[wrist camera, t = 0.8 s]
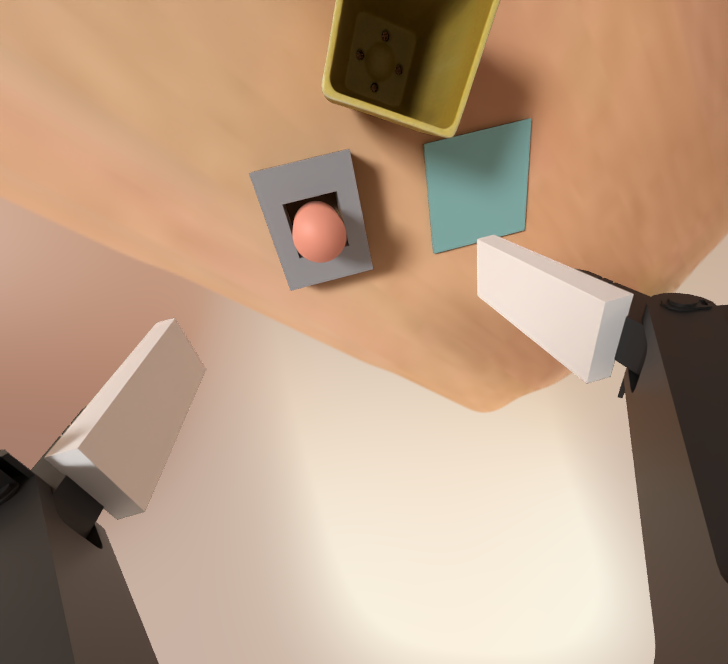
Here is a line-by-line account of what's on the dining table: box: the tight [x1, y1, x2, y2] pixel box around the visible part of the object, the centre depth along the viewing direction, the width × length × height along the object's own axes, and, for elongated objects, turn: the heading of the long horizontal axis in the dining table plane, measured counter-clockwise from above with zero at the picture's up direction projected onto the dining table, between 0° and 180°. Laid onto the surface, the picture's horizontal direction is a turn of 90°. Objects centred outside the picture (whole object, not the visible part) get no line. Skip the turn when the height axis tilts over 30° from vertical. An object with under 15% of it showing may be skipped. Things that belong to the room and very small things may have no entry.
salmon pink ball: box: [292, 201, 346, 263], centre depth 25 cm, size 4×4×4 cm
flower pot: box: [322, 0, 500, 138], centre depth 21 cm, size 9×9×9 cm
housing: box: [249, 149, 373, 291], centre depth 28 cm, size 10×8×3 cm
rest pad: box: [423, 118, 532, 254], centre depth 30 cm, size 10×10×1 cm
